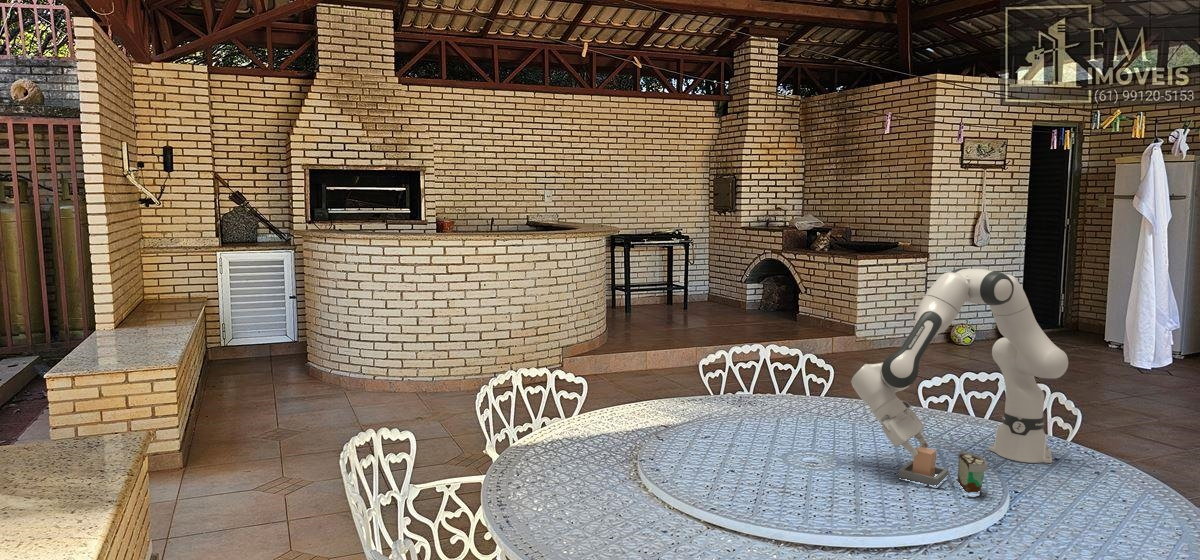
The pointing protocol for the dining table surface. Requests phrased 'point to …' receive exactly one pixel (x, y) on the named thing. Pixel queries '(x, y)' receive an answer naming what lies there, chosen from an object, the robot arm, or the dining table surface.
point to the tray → (909, 475)
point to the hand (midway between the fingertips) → (921, 451)
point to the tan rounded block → (925, 461)
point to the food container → (971, 471)
